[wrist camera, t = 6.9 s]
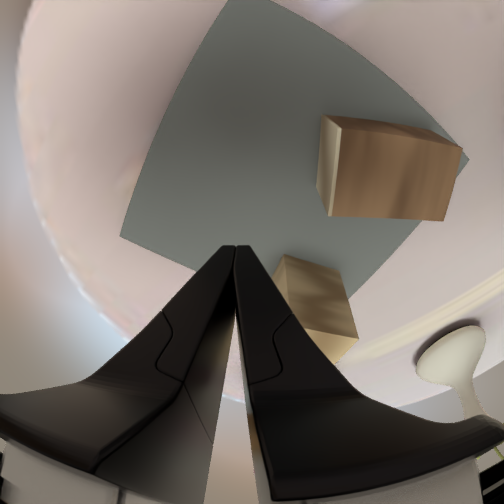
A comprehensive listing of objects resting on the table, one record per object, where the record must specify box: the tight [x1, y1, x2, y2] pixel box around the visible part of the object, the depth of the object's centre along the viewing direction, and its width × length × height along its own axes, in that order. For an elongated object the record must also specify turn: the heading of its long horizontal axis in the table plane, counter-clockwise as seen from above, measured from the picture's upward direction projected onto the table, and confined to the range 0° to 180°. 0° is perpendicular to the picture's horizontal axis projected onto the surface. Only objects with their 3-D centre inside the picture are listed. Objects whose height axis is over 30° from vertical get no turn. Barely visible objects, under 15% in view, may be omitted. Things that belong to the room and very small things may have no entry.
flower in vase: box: [416, 326, 504, 460], centre depth 21 cm, size 13×11×25 cm
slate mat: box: [120, 0, 469, 299], centre depth 19 cm, size 20×20×1 cm
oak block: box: [271, 254, 359, 364], centre depth 21 cm, size 5×5×7 cm
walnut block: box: [316, 115, 463, 221], centre depth 16 cm, size 4×5×8 cm
